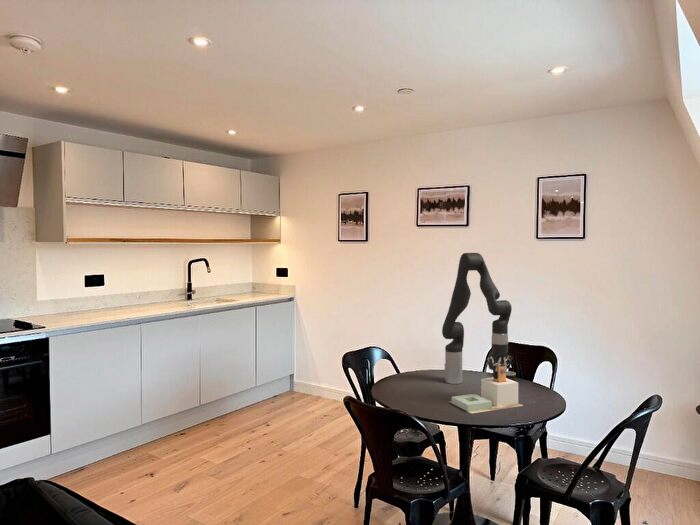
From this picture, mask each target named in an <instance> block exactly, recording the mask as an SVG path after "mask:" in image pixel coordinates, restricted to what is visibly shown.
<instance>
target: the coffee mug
mask: <svg viewBox="0 0 700 525" xmlns="http://www.w3.org/2000/svg"><path fill="white" fill-rule="evenodd" d="M516 374H517V373H516V372H514V371H509V370H506V378H507V379H510V380H513V381H515V382H516V378H517V377H516Z"/></svg>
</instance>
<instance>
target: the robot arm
mask: <svg viewBox="0 0 700 525" xmlns="http://www.w3.org/2000/svg"><path fill="white" fill-rule="evenodd" d="M469 271H470V272H472V271H475V272H477V273H478V274H479V277H480V278H479V279H480V281H479V288H480V291H481V293H482V294H483V297H484V298H485V301H486V304H487V309H488V312H489V313H490V314H491V315H492V316H498V318H497V319H495V320H493V321H492V323H491V324H492V325H491V326H492V327H491V329H492V330H491V356H490V357H486V361H487V365H488V369H489V370H491V371H492V377H494V379H498V367H499V365H503V366H506V371H508V369H510V368H511V366H512V362H513V356H511V355H508V352H509V335H508V332H509V330H508V324H509V321H510V318H511V314H512V307H513V306H512V304H511V302H510V301H509V300H506V299H505V300H504V299H503V300H499V298H500V297H501V294H500V291H499V290H498V288H497V286H496V284H495V283H494V282H493V280H492V277H491V274H490V272H489V270H488V266H487V264H486V262H485V259H484V256H482V254H481V253H480V252H464V253H462V254H461V256H460V258H459V262H458V268H457V274H456V275H457V276H456V280H455V284H454V288H453V291H452V295H451V299H450V303H449V307H448V309H447V310H448V311H447V314H446V316H445V319H444V322H443V325H442V327H441V329H442V330H441V333H442V336H443V338H444V339H446V340H452V341H451V342H450V343H447V344H446V345H445V349H444V350H445V354H444V355H445V356H444V357H445V358H444V360H445V362H444V382H445V383H447V384H453V385H457V384H462V383H463V348H464V340H465V327H464V325H463V323H462V322H461V321H457V319H458V318H459V316H460V315H462V313H463V312H464V311H465V310H466V309H467V307H468V305H469V302H470V300H471V299H470V298H471V295H472V292H471V288H470V286H469V284H468V275H469ZM495 366H496V367H495Z"/></svg>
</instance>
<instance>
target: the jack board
mask: <svg viewBox="0 0 700 525" xmlns="http://www.w3.org/2000/svg"><path fill="white" fill-rule="evenodd" d="M448 403H449V404H452V400H451V401H448ZM523 406H524V405H523V404H520V402H518V404H513V405H507V406H500V407H497V406H494V405H492V408H489V409H483V410H476V411H469V412H468V411H466V410H464V411H466V412H467V413H469V414H478V413H483V412H489V411H497V410H503V409H511V408H517V407H523Z"/></svg>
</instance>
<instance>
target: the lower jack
mask: <svg viewBox="0 0 700 525" xmlns="http://www.w3.org/2000/svg"><path fill="white" fill-rule="evenodd" d="M451 401H452V403H451V404H453V405H454V406H456V407H458V408H460V409H462V410H464V411H465V410H466V412H467V411H468V412H467V413H469V411H476V410H483V409H489V408H492V401H489V400H487V399H485V398H483V397H481V396H480V395H478V394H476V393H469V394H463V395H462V394H461V395H455V396H451Z"/></svg>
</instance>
